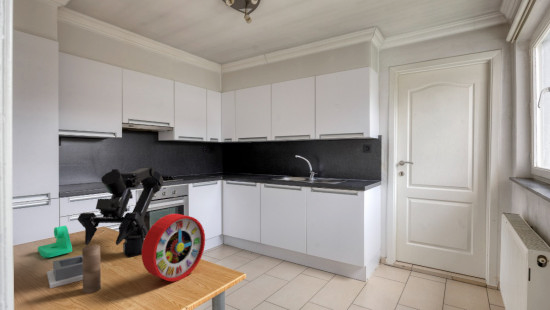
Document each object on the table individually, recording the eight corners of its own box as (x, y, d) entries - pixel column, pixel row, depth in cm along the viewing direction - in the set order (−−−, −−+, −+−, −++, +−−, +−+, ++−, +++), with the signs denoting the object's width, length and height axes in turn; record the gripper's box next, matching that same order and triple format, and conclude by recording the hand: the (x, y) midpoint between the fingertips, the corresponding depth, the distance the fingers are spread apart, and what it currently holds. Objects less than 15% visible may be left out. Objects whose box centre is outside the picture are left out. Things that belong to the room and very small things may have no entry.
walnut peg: (99, 284, 87) (98, 243, 87) (102, 290, 84) (101, 247, 83) (81, 289, 84) (81, 247, 84) (84, 295, 81) (83, 251, 80)
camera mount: (37, 253, 112) (36, 227, 112) (60, 247, 118) (59, 223, 118) (48, 260, 105) (47, 232, 105) (72, 254, 111) (71, 228, 111)
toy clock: (153, 292, 83) (153, 223, 82) (141, 286, 86) (141, 220, 85) (205, 267, 100) (205, 210, 99) (193, 264, 103) (193, 208, 102)
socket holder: (90, 264, 102) (89, 251, 101) (97, 276, 93) (96, 262, 93) (46, 274, 94) (46, 260, 93) (49, 288, 85) (49, 273, 84)
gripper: (80, 188, 93) (57, 231, 83) (139, 188, 94) (123, 231, 84) (94, 207, 101) (75, 249, 91) (148, 207, 102) (135, 248, 92)
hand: (101, 244), depth 89 cm, fingers open, 9 cm apart
